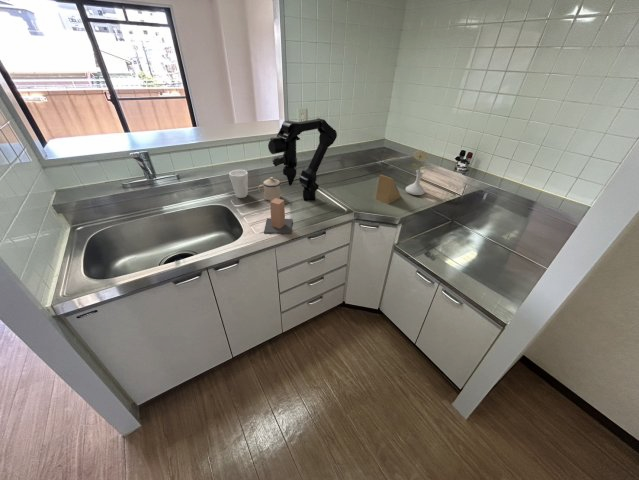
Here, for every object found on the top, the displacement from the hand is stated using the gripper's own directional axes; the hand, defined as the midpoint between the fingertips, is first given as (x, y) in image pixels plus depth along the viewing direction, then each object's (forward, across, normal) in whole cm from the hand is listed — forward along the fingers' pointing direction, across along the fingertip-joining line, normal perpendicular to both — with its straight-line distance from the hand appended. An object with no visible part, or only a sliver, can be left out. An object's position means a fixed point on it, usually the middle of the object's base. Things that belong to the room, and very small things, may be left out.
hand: (290, 181), depth 132 cm
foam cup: (+13, -10, -28) cm, 33 cm away
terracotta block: (+12, +22, -5) cm, 26 cm away
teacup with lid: (+13, -8, -12) cm, 20 cm away
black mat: (+13, +22, -5) cm, 26 cm away
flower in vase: (+13, -19, +74) cm, 78 cm away
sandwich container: (+13, -11, +56) cm, 59 cm away
